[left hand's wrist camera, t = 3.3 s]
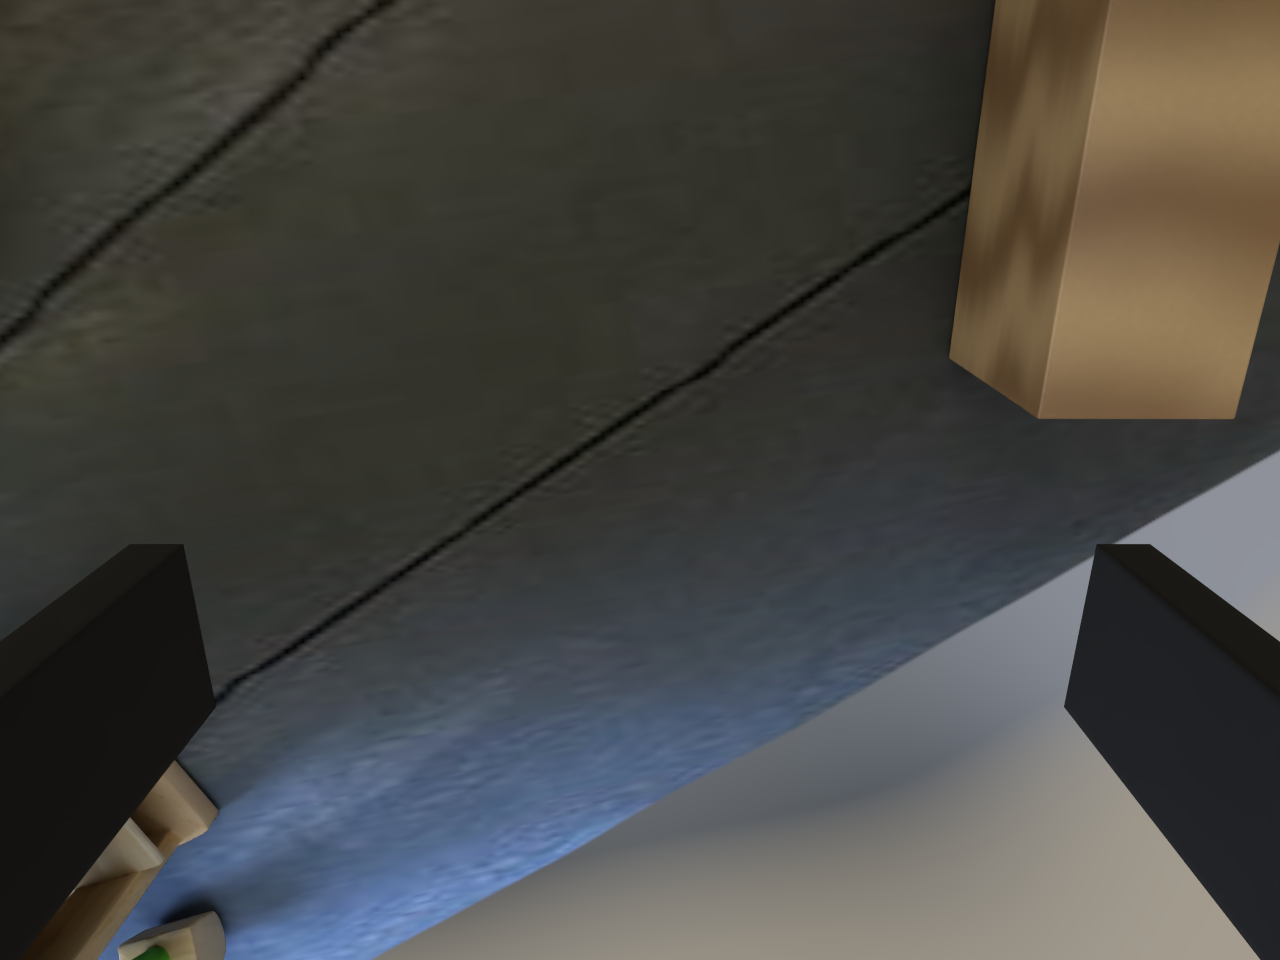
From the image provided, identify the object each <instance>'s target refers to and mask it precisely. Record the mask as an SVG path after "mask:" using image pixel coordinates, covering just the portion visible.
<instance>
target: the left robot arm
mask: <svg viewBox="0 0 1280 960" xmlns="http://www.w3.org/2000/svg"><path fill="white" fill-rule="evenodd" d="M215 707H216V705H215V700H214V695H213V690H212V685H211V680H210V675H209V670H208V665H207V660H206V655H205V650H204V645H203V640H202V635H201V630H200V625H199V620H198V615H197V610H196V605H195V600H194V595H193V590H192V585H191V580H190V575H189V570H188V565H187V560H186V555H185V550H184V545H183V544H130V545H128V546H127V547H126V548H124V549H123V550H122V551H120V552H119V553H118V554H116V555H115V556H114V557H112V558H111V559H110V560H108V561H107V562H106V563H104V564H103V565H102V566H100V567H99V568H98V569H96V570H95V571H94V572H92V573H91V574H90V575H88V576H87V577H86V578H84V579H83V580H82V581H80V582H79V583H78V584H76V585H75V586H74V587H72V588H71V589H70V590H68V591H67V592H66V593H64V594H63V595H62V596H60V597H59V598H58V599H57V600H55V601H54V602H53V603H51V604H50V605H49V606H47V607H46V608H45V609H43V610H42V611H41V612H39V613H38V614H37V615H35V616H34V617H33V618H31V619H30V620H29V621H27V622H26V623H25V624H23V625H22V626H21V627H19V628H18V629H17V630H15V631H14V632H13V633H11V634H10V635H9V636H7V637H6V638H5V639H3V640H2V641H1V642H0V960H20V958H21V957H22V956H23V954H24V953H25V952H26V951H27V949H28V948H29V947H30V945H31V944H32V943H33V942H34V940H35V939H36V938H37V936H38V935H39V934H40V933H41V931H42V930H43V929H44V927H45V926H46V925H47V924H48V922H49V921H50V920H51V918H52V917H53V916H54V915H55V913H56V912H57V911H58V909H59V908H60V907H61V906H62V904H63V903H64V902H65V900H66V899H67V898H68V897H69V895H70V894H71V893H72V891H73V890H74V889H75V888H76V886H77V885H78V884H79V882H80V881H81V880H82V879H83V877H84V876H85V875H86V873H87V872H88V871H89V870H90V868H91V867H92V866H93V864H94V863H95V862H96V861H97V859H98V858H99V857H100V855H101V854H102V853H103V852H104V850H105V849H106V848H107V846H108V845H109V844H110V843H111V841H112V840H113V839H114V837H115V836H116V835H117V833H118V832H119V831H120V830H121V828H122V827H123V826H124V824H125V823H126V822H127V821H128V819H129V818H130V817H131V815H132V814H133V813H134V812H135V810H136V809H137V808H138V806H139V805H140V804H141V803H142V801H143V800H144V799H145V797H146V796H147V795H148V794H149V792H150V791H151V790H152V788H153V787H154V786H155V785H156V783H157V782H158V781H159V779H160V778H161V777H162V776H163V774H164V773H165V772H166V770H167V769H168V768H169V767H170V765H171V764H172V763H173V761H174V760H175V759H176V758H177V756H178V755H179V754H180V752H181V751H182V750H183V749H184V747H185V746H186V745H187V743H188V742H189V741H190V740H191V738H192V737H193V736H194V734H195V733H196V732H197V731H198V729H199V728H200V727H201V725H202V724H203V723H204V722H205V720H206V719H207V718H208V716H209V715H210V714H211V712H212V711H213V710H214V709H215ZM1064 707H1065V709H1066V710H1067V711H1068V712H1069V714H1070V715H1071V716H1072V718H1073V719H1074V720H1075V721H1076V723H1077V724H1078V725H1079V727H1080V728H1081V729H1082V731H1083V732H1084V733H1085V734H1086V736H1087V737H1088V738H1089V740H1090V741H1091V742H1092V743H1093V745H1094V746H1095V747H1096V748H1097V750H1098V751H1099V752H1100V754H1101V755H1102V756H1103V758H1104V759H1105V760H1106V761H1107V763H1108V764H1109V765H1110V767H1111V768H1112V769H1113V770H1114V772H1115V773H1116V774H1117V776H1118V777H1119V778H1120V779H1121V781H1122V782H1123V783H1124V785H1125V786H1126V787H1127V788H1128V790H1129V791H1130V792H1131V794H1132V795H1133V796H1134V797H1135V799H1136V800H1137V801H1138V803H1139V804H1140V805H1141V806H1142V808H1143V809H1144V810H1145V812H1146V813H1147V814H1148V815H1149V817H1150V818H1151V819H1152V821H1153V822H1154V823H1155V824H1156V826H1157V827H1158V828H1159V830H1160V831H1161V832H1162V834H1163V835H1164V836H1165V837H1166V839H1167V840H1168V841H1169V842H1170V844H1171V845H1172V846H1173V848H1174V849H1175V850H1176V851H1177V853H1178V854H1179V855H1180V857H1181V858H1182V859H1183V860H1184V862H1185V863H1186V864H1187V866H1188V867H1189V868H1190V870H1191V871H1192V872H1193V873H1194V875H1195V876H1196V877H1197V879H1198V880H1199V881H1200V882H1201V884H1202V885H1203V886H1204V888H1205V889H1206V890H1207V891H1208V893H1209V894H1210V895H1211V897H1212V898H1213V899H1214V900H1215V902H1216V903H1217V904H1218V906H1219V907H1220V908H1221V909H1222V911H1223V912H1224V913H1225V915H1226V916H1227V917H1228V918H1229V920H1230V921H1231V922H1232V924H1233V925H1234V926H1235V927H1236V929H1237V930H1238V931H1239V933H1240V934H1241V935H1242V936H1243V938H1244V939H1245V940H1246V942H1247V943H1248V944H1249V945H1250V947H1251V948H1252V949H1253V951H1254V952H1255V953H1256V954H1257V956H1258V957H1259V958H1260V960H1280V642H1279V641H1278V640H1277V639H1275V638H1274V637H1273V636H1271V635H1270V634H1269V633H1267V632H1266V631H1265V630H1263V629H1262V628H1261V627H1259V626H1258V625H1257V624H1255V623H1254V622H1253V621H1251V620H1250V619H1249V618H1247V617H1246V616H1245V615H1243V614H1242V613H1241V612H1239V611H1238V610H1237V609H1235V608H1234V607H1233V606H1231V605H1230V604H1229V603H1227V602H1226V601H1225V600H1223V599H1222V598H1221V597H1219V596H1218V595H1217V594H1216V593H1214V592H1213V591H1212V590H1210V589H1209V588H1208V587H1206V586H1205V585H1204V584H1202V583H1201V582H1200V581H1198V580H1197V579H1196V578H1194V577H1193V576H1192V575H1190V574H1189V573H1188V572H1186V571H1185V570H1184V569H1182V568H1181V567H1180V566H1178V565H1177V564H1176V563H1174V562H1173V561H1172V560H1170V559H1169V558H1168V557H1166V556H1165V555H1164V554H1162V553H1161V552H1160V551H1158V550H1157V549H1156V548H1154V547H1153V546H1152V545H1150V544H1097V545H1096V550H1095V555H1094V560H1093V565H1092V570H1091V575H1090V580H1089V585H1088V590H1087V595H1086V600H1085V605H1084V610H1083V615H1082V620H1081V625H1080V630H1079V635H1078V640H1077V645H1076V650H1075V655H1074V660H1073V665H1072V670H1071V675H1070V680H1069V685H1068V690H1067V695H1066V700H1065V705H1064Z"/></svg>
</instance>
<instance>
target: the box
mask: <svg viewBox="0 0 1280 960" xmlns="http://www.w3.org/2000/svg"><path fill="white" fill-rule="evenodd" d="M1279 243H1280V0H996V2H995V10H994V18H993V25H992V33H991V41H990V48H989V56H988V64H987V71H986V79H985V87H984V94H983V102H982V110H981V117H980V125H979V133H978V140H977V148H976V156H975V163H974V171H973V179H972V186H971V194H970V202H969V209H968V217H967V225H966V232H965V240H964V248H963V255H962V263H961V271H960V278H959V286H958V294H957V301H956V309H955V317H954V324H953V332H952V340H951V347H950V355H949V358H950V359H951V360H953V361H954V362H955V363H957V364H958V365H960V366H961V367H963V368H964V369H966V370H967V371H969V372H970V373H972V374H973V375H975V376H976V377H978V378H979V379H980V380H982V381H983V382H985V383H986V384H988V385H989V386H991V387H992V388H994V389H995V390H997V391H998V392H1000V393H1001V394H1003V395H1004V396H1006V397H1007V398H1008V399H1010V400H1011V401H1013V402H1014V403H1016V404H1017V405H1019V406H1020V407H1022V408H1023V409H1025V410H1026V411H1028V412H1029V413H1031V414H1032V415H1033V416H1035V417H1036V418H1038V419H1234V418H1235V415H1236V411H1237V407H1238V403H1239V399H1240V395H1241V391H1242V387H1243V384H1244V380H1245V376H1246V372H1247V368H1248V364H1249V360H1250V356H1251V352H1252V349H1253V345H1254V341H1255V337H1256V333H1257V329H1258V325H1259V321H1260V317H1261V313H1262V310H1263V306H1264V302H1265V298H1266V294H1267V290H1268V286H1269V282H1270V278H1271V275H1272V271H1273V267H1274V263H1275V259H1276V255H1277V251H1278V247H1279Z"/></svg>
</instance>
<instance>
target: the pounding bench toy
mask: <svg viewBox="0 0 1280 960" xmlns="http://www.w3.org/2000/svg"><path fill="white" fill-rule="evenodd" d="M217 815H218V810H217V809H216V807H215V806H214V805H213V804H212V803H211V801H210V800H209V799H208V798H207V797H206V796H205V794H204V793H203V792H202V791H201V790H200V789H199V788H198V786H197V785H196V784H195V783H194V782H193V781H192V779H191V778H190V777H189V776H188V775H187V774H186V772H185V771H184V770H183V769H182V768H181V767H180V766H179V764H178V763H177V762H176V761H175V760H174V761H173V763H172V764H171V765H170V767H169V768H168V769H167V770H166V772H165V773H164V774H163V776H162V777H161V778H160V779H159V781H158V782H157V783H156V785H155V786H154V787H153V788H152V790H151V791H150V792H149V794H148V795H147V796H146V797H145V799H144V800H143V801H142V803H141V804H140V805H139V806H138V808H137V809H136V810H135V812H134V813H133V814H132V815H131V817H130V818H129V819H128V821H127V822H126V823H125V824H124V826H123V827H122V828H121V830H120V831H119V832H118V833H117V835H116V836H115V837H114V839H113V840H112V841H111V843H110V844H109V845H108V846H107V848H106V849H105V850H104V852H103V853H102V854H101V855H100V857H99V858H98V859H97V861H96V862H95V863H94V864H93V866H92V867H91V868H90V870H89V871H88V872H87V873H86V875H85V876H84V877H83V879H82V880H81V881H80V882H79V884H78V885H77V886H76V888H75V889H74V890H73V891H72V893H71V894H70V895H69V897H68V898H67V899H66V900H65V902H64V903H63V904H62V906H61V907H60V908H59V909H58V911H57V912H56V913H55V915H54V916H53V917H52V918H51V920H50V921H49V922H48V924H47V925H46V926H45V927H44V929H43V930H42V931H41V933H40V934H39V935H38V936H37V938H36V939H35V940H34V942H33V943H32V944H31V945H30V947H29V948H28V949H27V951H26V952H25V953H24V954H23V956H22V957H21V958H20V960H97V959H98V958H99V956H100V955H101V953H102V952H103V951H104V949H105V948H106V946H107V945H108V944H109V942H110V941H111V939H112V938H113V937H114V935H115V934H116V932H117V931H118V929H119V928H120V927H121V925H122V924H123V922H124V921H125V920H126V918H127V917H128V915H129V914H130V913H131V911H132V910H133V908H134V907H135V906H136V904H137V903H138V901H139V900H140V898H141V897H142V896H143V894H144V893H145V891H146V890H147V888H148V887H149V886H150V884H151V883H152V881H153V880H154V878H155V877H156V875H157V874H158V873H159V871H160V870H161V869H162V867H163V866H164V864H165V863H166V862H167V860H168V859H169V858H170V856H171V855H172V853H173V852H174V851H175V849H176V848H177V846H180V845H182V844H184V843H186V842H188V841H190V840H192V839H194V838H196V837H198V836H199V835H201V834H203V833H205V832H206V831H207V830H208V829H209V827H210V826H211V824H212V823H213V821H214V820H215V818H216V817H217ZM117 949H118V953H119V958H120V960H223V959H224V957H225V952H226V940H225V934H224V930H223V927H222V924H221V921H220V919H219V917H218V915H217V914H216V913H215V912H214V911H209V912H206V913H202V914H199V915H195V916H192V917H188V918H185V919H181V920H178V921H174V922H171V923H167V924H164V925H160V926H157V927H153V928H150V929H146V930H145V931H143V932H141V933H139V934H137V935H136V936H134V937H132V938H131V939H129V940H127V941H126V942H124V943H122V944H121V945H120V946H119V947H118V948H117Z"/></svg>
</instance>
